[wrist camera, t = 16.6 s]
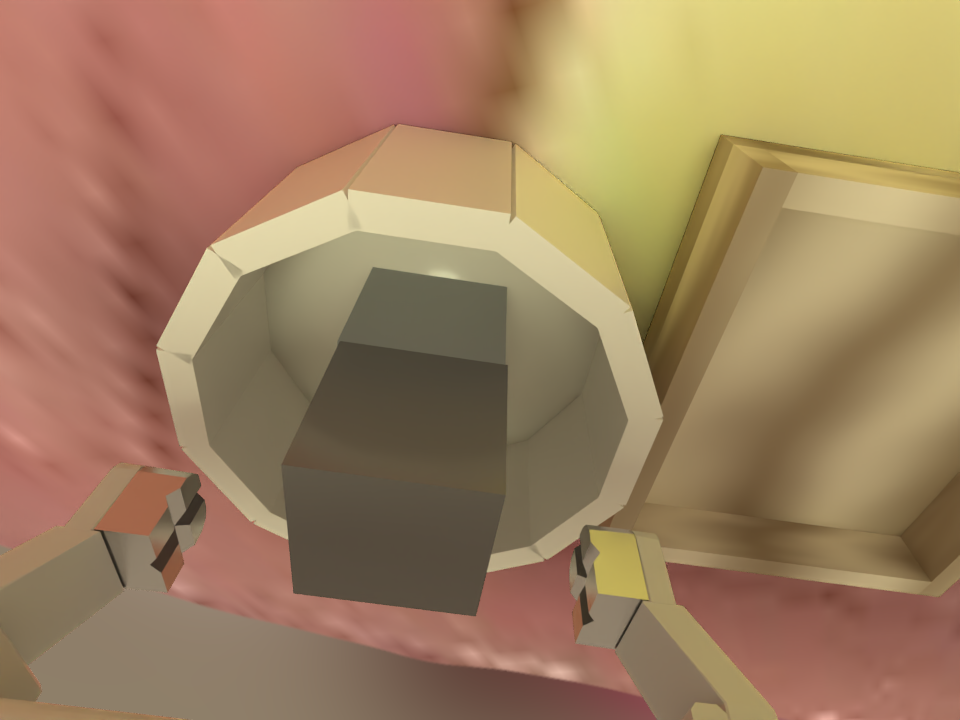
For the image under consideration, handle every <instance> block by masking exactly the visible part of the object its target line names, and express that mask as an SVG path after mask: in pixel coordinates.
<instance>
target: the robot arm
mask: <svg viewBox="0 0 960 720" xmlns="http://www.w3.org/2000/svg"><path fill="white" fill-rule="evenodd" d="M200 486H201V483H200V480H199V476H198V474H193V473H187V472H181V471H174V470H168V469H162V468H156V467H149V466H142V465H135V464H128V463H119V464H118V465H116V466H114V467H113V468H112V469H111V470H110V471H109V472H108V474H107V475H106V476H105V477H104V478H103V480H102V481H101V482H100V483H99V485H98V486H97V487H96V488H95V489H94V491H93V492H92V493H91V494H90V496H89V497H88V498H87V499H86V500H85V502H84V503H83V504H82V505H81V507H80V508H79V509H78V510H77V511H76V513H75V514H74V515H73V516H72V517H71V519H70V520H69V521H68V522H67V524H66V525H65V526H55V527H53V528H51V529H49V530H47V531H46V532H44V533H42V534H40V535H38V536H36V537H34V538H32V539H31V540H29V541H27V542H25V543H23V544H21V545H19V546H17V547H15V548H14V549H12V550H10V551H8V552H6V553H4V554H2V555H1V556H0V720H188V719H179V718H171V717H163V716H154V715H145V714H137V713H128V712H119V711H110V710H101V709H94V708H85V707H75V706H68V705H59V704H50V703H42V702H36V700H37V699H38V697H39V695H40V694H41V692H42V690H41V685H40V683H39V681H38V680H37V678H36V677H35V676H34V674H33V673H32V671H31V670H30V668H29V667H28V665H29V664H31V663H32V662H33V661H34V660H36V659H37V658H38V657H40V656H41V655H42V654H43V653H45V652H46V651H47V650H49V649H50V648H51V647H53V646H54V645H55V644H56V643H58V642H59V641H60V640H62V639H63V638H64V637H65V636H67V635H68V634H69V633H70V632H72V631H73V630H74V629H76V628H77V627H78V626H80V625H81V624H82V623H83V622H85V621H86V620H87V619H89V618H90V617H91V616H93V615H94V614H95V613H96V612H98V611H99V610H100V609H102V608H103V607H104V606H105V605H107V604H108V603H109V602H110V601H112V600H113V599H114V598H116V597H117V596H118V595H120V594H121V593H122V592H123V591H124V589H123V588H125V589H135V590H146V591H156V592H166V593H168V591H169V589H170V588H171V586H172V584H173V582H174V581H175V579H176V577H177V575H178V574H179V572H180V570H181V568H182V566H183V565H184V560H183V556H182V552H184V551H186V550H187V549H189V548H190V547H192V546H193V545H195V543H196V541H197V539H198V538H199V536H200V534H201V532H202V529H203V525H204V522H205V518H206V505H205V500H204V499H203V498H202V497H201V496H200V495H199V494H198V493H197V491H198V490H199V488H200ZM580 543H581V545H579V546H578V547H576V548H575V549H574V552H573V555H572V558H571V564H570V571H569V582H570V593H571V594H572V595H573V597H574V598H575V599H576V601H577V602H576V604H575V607H574V609H573V611H572V617H573V627H574V637H575V643H576V644H583V645H589V646H596V647H602V648H609V649H616V650H615V653H616V654H617V656H618V658H619V659H620V661H621V662H622V664H623V666H624V667H625V669H626V670H627V672H628V674H629V675H630V677H631V679H632V680H633V682H634V683H635V685H636V687H637V688H638V690H639V692H640V693H641V695H642V696H643V698H644V699H645V701H646V703H647V705H648V706H649V708H650V709H651V711H652V713H653V714H654V716H655V717H656V719H657V720H778V719H777V716H776V713H775V710H774V709H773V708H772V707H771V706H770V704H769V703H768V702H767V701H766V700H765V699H764V698H763V696H762V695H761V694H760V693H759V692H758V691H757V690H756V688H755V687H754V686H753V685H752V684H751V683H750V682H749V680H748V679H747V678H746V677H745V676H744V675H743V674H742V672H741V671H740V670H739V669H738V668H737V667H736V666H735V664H734V663H733V662H732V661H731V660H730V659H729V658H728V656H727V655H726V654H725V653H724V652H723V651H722V650H721V648H720V647H719V646H718V645H717V644H716V643H715V642H714V640H713V639H712V638H711V637H710V636H709V635H708V634H707V632H706V631H705V630H704V629H703V628H702V627H701V626H700V624H699V623H698V622H697V621H696V620H695V619H694V618H693V616H692V615H691V614H690V613H689V612H688V611H687V610H686V608H685V607H684V606H681V605H676V602H675V598H674V594H673V590H672V587H671V583H670V579H669V575H668V571H667V568H666V564H665V560H664V556H663V552H662V549H661V545H660V541H659V538H658V537H657V535H656V534H654V533H647V532H639V531H631V530H628V529H619V528H611V527H602V526H594V525H585V526H584V527H583V528H582V531H581V533H580Z"/></svg>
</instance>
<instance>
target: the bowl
mask: <svg viewBox="0 0 960 720" xmlns="http://www.w3.org/2000/svg"><path fill="white" fill-rule="evenodd" d="M373 267H376V268H383V269H390V270H397V271H403V272H410V273H417V274H424V275H430V276H437V277H444V278H451V279H457V280H464V281H471V282H478V283H484V284H491V285H498V286H504V287H507V314H506V360H505V365H508V392H507V456H506V497H505V501H504V505H503V509H502V513H501V517H500V521H499V525H498V529H497V533H496V537H495V541H494V545H493V549H492V553H491V557H490V561H489V565H488V569H487V572H492V571H497V570H502V569H507V568H512V567H517V566H522V565H527V564H532V563H537V562H542V561H544V558H545V559H547V560H548V559H549V558H551V557H552V556H554V555H555V554H557V553H558V552H560V551H561V550H563V549H564V548H565V547H567V546H568V545H570V544H571V543H573V542H574V541H576V540H577V539H579V538H580V533H581V531H582V528H583V527H584V526H585V525H594V526H598V525H599V524H601V523H602V522H604V521H605V520H607V519H608V518H610V517H611V516H612V515H614V514H615V513H617V512H618V511H620V510H621V509H623V508H624V507H623V505H626V504H627V502H628V499H629V497H630V495H631V493H632V490H633V488H634V486H635V483H636V481H637V479H638V477H639V474H640V472H641V470H642V467H643V465H644V463H645V461H646V458H647V456H648V454H649V451H650V449H651V447H652V445H653V442H654V440H655V438H656V435H657V433H658V431H659V429H660V426H661V424H662V422H663V418H662V417H663V413H662V410H661V407H660V403H659V400H658V396H657V393H656V389H655V386H654V382H653V379H652V375H651V372H650V368H649V365H648V361H647V358H646V354H645V351H644V347H643V344H642V340H641V337H640V333H639V330H638V326H637V323H636V319H635V316H634V312H633V309H632V306H631V304H630V301H629V298H628V295H627V292H626V289H625V287H624V284H623V281H622V278H621V275H620V272H619V270H618V267H617V264H616V261H615V258H614V255H613V253H612V250H611V247H610V244H609V241H608V238H607V236H606V233H605V230H604V227H603V224H602V221H601V219H600V216H598V213H597V212H596V211H595V210H593V209H592V208H591V207H590V206H589V205H588V204H586V203H585V202H584V201H583V200H582V199H580V198H579V197H578V196H577V195H576V194H575V193H573V192H572V191H571V190H570V189H569V188H567V187H566V186H565V185H564V184H563V183H562V182H560V181H559V180H558V179H557V178H556V177H554V176H553V175H552V174H551V173H550V172H549V171H547V170H546V169H545V168H544V167H543V166H541V165H540V164H539V163H538V162H537V161H536V160H534V159H533V158H532V157H531V156H530V155H528V154H527V153H526V152H525V151H524V150H523V149H521V148H520V147H519V146H518V145H517V144H515V145H514V146H513V147H512V142H510V141H504V140H497V139H491V138H484V137H478V136H472V135H465V134H459V133H453V132H446V131H440V130H434V129H427V128H421V127H414V126H408V125H402V124H398V125H397V126H396V127H395V125H392V126H389V127H387V128H385V129H383V130H380V131H378V132H376V133H374V134H371V135H369V136H367V137H365V138H362V139H360V140H358V141H355V142H353V143H351V144H349V145H346V146H344V147H342V148H340V149H337V150H335V151H333V152H331V153H328V154H326V155H324V156H321V157H319V158H317V159H315V160H312V161H310V162H308V163H306V164H303V165H301V166H299V167H297V168H296V169H295V170H294V171H293V172H291V173H290V174H289V175H288V176H287V177H286V178H285V179H284V180H282V181H281V182H280V183H279V184H278V185H277V186H276V187H275V188H274V189H272V190H271V191H270V192H269V193H268V194H267V195H266V196H265V197H263V198H262V199H261V200H260V201H259V202H258V203H257V204H256V205H255V206H253V207H252V208H251V209H250V210H249V211H248V212H247V213H246V214H244V215H243V216H242V217H241V218H240V219H239V220H238V221H237V222H236V223H234V224H233V225H232V226H231V227H230V228H229V229H228V230H227V231H226V232H224V233H223V234H222V235H221V236H220V237H219V238H218V239H217V240H215V241H214V242H213V243H212V244H211V245H210V246H209V247H208V248H207V249H206V251H205V253H204V255H203V257H202V259H201V261H200V263H199V264H198V266H197V268H196V270H195V272H194V274H193V276H192V278H191V280H190V282H189V284H188V286H187V288H186V290H185V291H184V293H183V295H182V297H181V299H180V301H179V303H178V305H177V307H176V309H175V311H174V313H173V315H172V317H171V318H170V320H169V322H168V324H167V326H166V328H165V330H164V332H163V334H162V336H161V338H160V340H159V342H158V344H157V345H156V346H157V347H158V348H157V349H156V352H157V356H158V360H159V364H160V368H161V372H162V377H163V381H164V385H165V389H166V393H167V397H168V401H169V405H170V409H171V413H172V417H173V422H174V426H175V430H176V434H177V438H178V442H179V446H183V447H182V450H183V451H184V452H185V453H186V455H187V456H188V457H189V458H190V459H191V460H192V461H193V462H194V463H195V464H196V465H197V466H198V467H199V468H200V469H201V470H202V471H203V472H204V473H205V474H206V475H207V477H208V478H209V479H210V480H211V481H212V482H213V483H214V484H215V485H216V486H217V487H218V488H219V489H220V490H221V491H222V492H223V493H224V494H225V495H226V496H227V497H228V499H229V500H230V501H231V502H232V503H233V504H234V505H235V506H236V507H237V508H238V509H239V510H240V511H241V512H242V513H243V514H244V515H245V516H246V517H247V518H248V520H249V521H250V522H251V521H255V522H254V524H255V525H257V526H260V527H262V528H264V529H266V530H268V531H270V532H272V533H274V534H277V535H279V536H281V537H283V538H285V539H287V540H288V530H287V519H286V509H285V499H284V488H283V478H282V467H281V464H282V462H283V460H284V458H285V456H286V454H287V452H288V449H289V447H290V445H291V443H292V441H293V439H294V437H295V435H296V433H297V430H298V428H299V426H300V424H301V422H302V420H303V418H304V416H305V414H306V411H307V409H308V407H309V405H310V403H311V401H312V399H313V397H314V395H315V392H316V390H317V388H318V386H319V384H320V382H321V380H322V378H323V376H324V373H325V371H326V369H327V367H328V365H329V363H330V361H331V359H332V356H333V354H334V352H335V350H336V348H337V341H338V339H339V336H340V334H341V332H342V330H343V328H344V326H345V324H346V322H347V320H348V318H349V316H350V314H351V311H352V309H353V307H354V305H355V303H356V301H357V299H358V297H359V295H360V293H361V291H362V289H363V286H364V284H365V282H366V280H367V278H368V276H369V274H370V272H371V270H372V268H373Z"/></svg>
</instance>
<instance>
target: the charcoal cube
mask: <svg viewBox="0 0 960 720" xmlns="http://www.w3.org/2000/svg"><path fill="white" fill-rule="evenodd" d="M507 392H508V365H504V364H497V363H490V362H483V361H476V360H469V359H462V358H455V357H448V356H441V355H434V354H427V353H421V352H414V351H407V350H400V349H393V348H386V347H379V346H372V345H365V344H358V343H351V342H344V341H340V342H339V344H338V346H337V348H336V350H335V352H334V354H333V356H332V359H331V361H330V363H329V365H328V367H327V369H326V371H325V373H324V376H323V378H322V380H321V382H320V384H319V386H318V388H317V390H316V392H315V395H314V397H313V399H312V401H311V403H310V405H309V407H308V409H307V411H306V414H305V416H304V418H303V420H302V422H301V424H300V426H299V428H298V430H297V433H296V435H295V437H294V439H293V441H292V443H291V445H290V447H289V449H288V452H287V454H286V456H285V458H284V460H283V462H282V464H281V467H282V478H283V488H284V499H285V509H286V519H287V530H288V540H289V551H290V561H291V572H292V582H293V592H294V593H295V594H303V595H311V596H319V597H327V598H335V599H342V600H350V601H358V602H366V603H374V604H382V605H390V606H398V607H406V608H414V609H422V610H430V611H438V612H446V613H454V614H462V615H469V616H476V613H477V609H478V605H479V601H480V597H481V593H482V589H483V585H484V581H485V577H486V573H487V569H488V565H489V561H490V557H491V553H492V549H493V545H494V541H495V537H496V533H497V529H498V525H499V521H500V517H501V513H502V509H503V505H504V501H505V497H506V456H507Z"/></svg>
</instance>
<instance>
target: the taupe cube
mask: <svg viewBox="0 0 960 720" xmlns="http://www.w3.org/2000/svg"><path fill="white" fill-rule="evenodd" d="M506 314H507V287H504V286H498V285H491V284H484V283H478V282H471V281H464V280H457V279H451V278H444V277H437V276H430V275H424V274H417V273H410V272H403V271H397V270H390V269H383V268H376V267H373V268H372V270H371V272H370V274H369V276H368V278H367V280H366V282H365V284H364V286H363V289H362V291H361V293H360V295H359V297H358V299H357V301H356V303H355V305H354V307H353V309H352V311H351V314H350V316H349V318H348V320H347V322H346V324H345V326H344V328H343V330H342V332H341V334H340V336H339V339H338V341H337V346H338V344H339V342H340V341H344V342H351V343H358V344H365V345H372V346H379V347H386V348H393V349H400V350H407V351H414V352H421V353H427V354H434V355H441V356H448V357H455V358H462V359H469V360H476V361H483V362H490V363H497V364H504V365H505V360H506Z"/></svg>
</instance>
